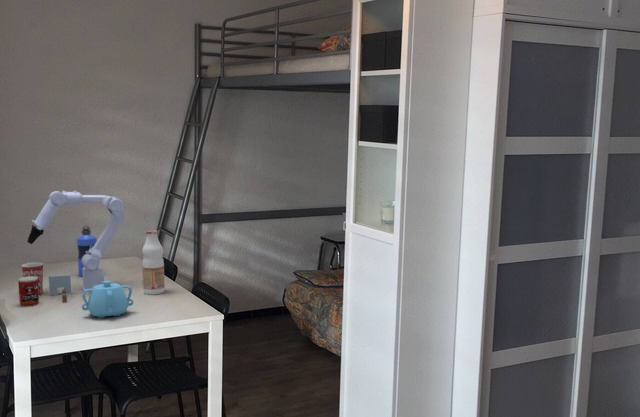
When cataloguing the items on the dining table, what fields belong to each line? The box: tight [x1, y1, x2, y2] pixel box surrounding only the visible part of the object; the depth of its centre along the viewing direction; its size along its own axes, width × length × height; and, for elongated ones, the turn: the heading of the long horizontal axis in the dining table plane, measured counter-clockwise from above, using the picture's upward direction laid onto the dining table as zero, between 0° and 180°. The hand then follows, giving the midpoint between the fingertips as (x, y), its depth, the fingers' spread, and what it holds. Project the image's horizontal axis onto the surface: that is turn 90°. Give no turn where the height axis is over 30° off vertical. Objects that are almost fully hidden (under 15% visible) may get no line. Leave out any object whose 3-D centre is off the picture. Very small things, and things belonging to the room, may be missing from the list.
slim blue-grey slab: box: [48, 273, 72, 297], centre depth 322 cm, size 9×2×8 cm, turn 110°
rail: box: [61, 288, 68, 303], centre depth 313 cm, size 2×12×3 cm, turn 20°
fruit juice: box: [141, 229, 166, 296], centre depth 323 cm, size 9×9×28 cm
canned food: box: [17, 276, 40, 307], centre depth 306 cm, size 8×8×11 cm
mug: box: [21, 262, 44, 296], centre depth 323 cm, size 13×9×14 cm
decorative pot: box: [81, 280, 134, 319], centre depth 288 cm, size 16×16×14 cm
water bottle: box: [76, 225, 98, 278], centre depth 358 cm, size 9×9×25 cm
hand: (29, 242), depth 318 cm, fingers open, 7 cm apart
